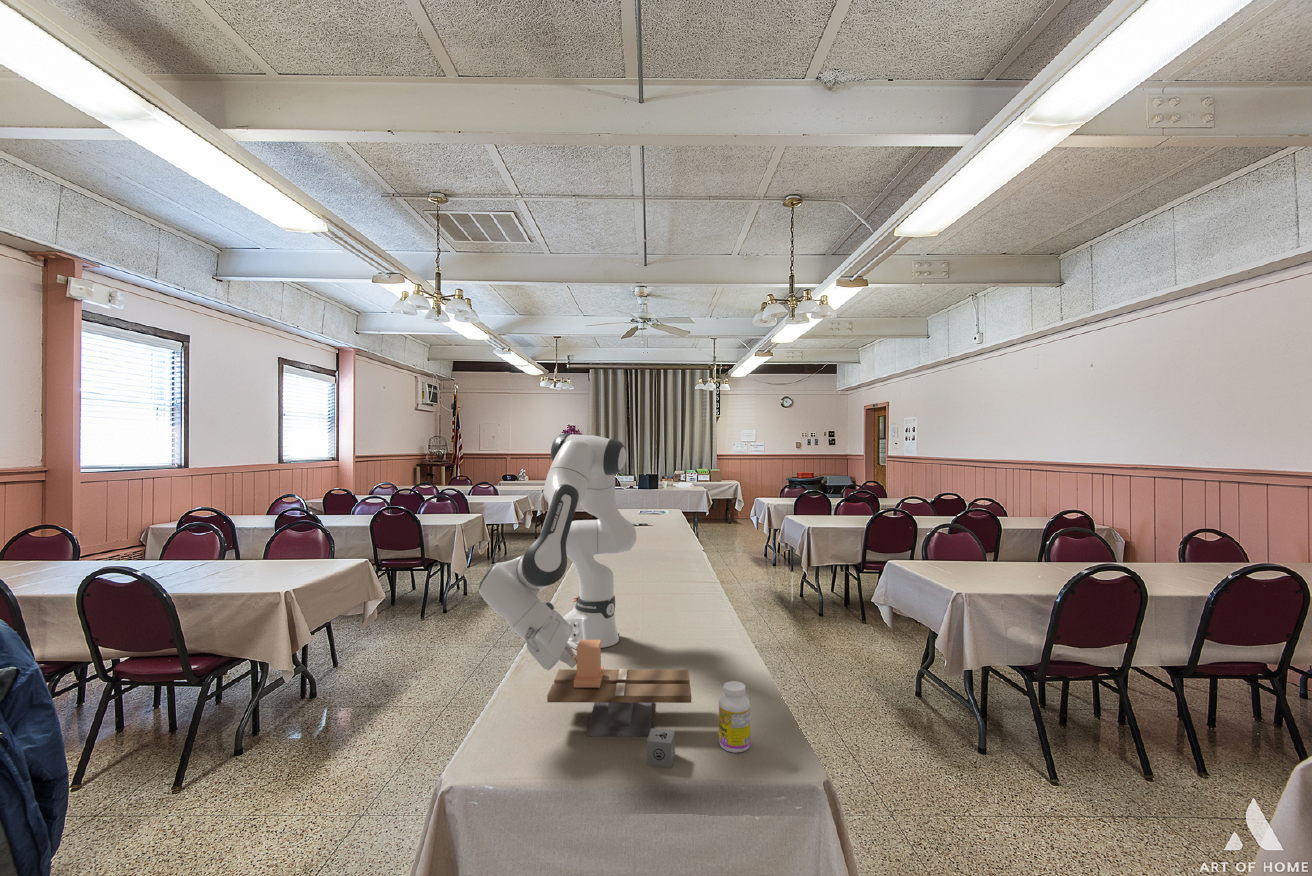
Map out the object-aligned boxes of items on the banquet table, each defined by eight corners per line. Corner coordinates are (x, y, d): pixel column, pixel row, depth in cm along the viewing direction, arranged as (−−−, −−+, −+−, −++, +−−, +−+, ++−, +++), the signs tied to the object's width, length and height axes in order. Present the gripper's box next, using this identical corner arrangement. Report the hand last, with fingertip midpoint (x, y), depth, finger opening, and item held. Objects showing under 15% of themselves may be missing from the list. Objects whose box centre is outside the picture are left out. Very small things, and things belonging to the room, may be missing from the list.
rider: (573, 693, 128) (573, 650, 128) (578, 678, 136) (578, 637, 136) (600, 693, 128) (599, 650, 128) (603, 678, 136) (603, 637, 136)
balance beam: (546, 736, 124) (546, 696, 124) (559, 701, 140) (559, 667, 140) (691, 736, 124) (691, 697, 124) (688, 702, 140) (688, 667, 140)
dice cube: (671, 768, 113) (671, 743, 113) (646, 766, 113) (646, 741, 113) (674, 754, 117) (674, 730, 117) (651, 752, 118) (651, 728, 118)
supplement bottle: (716, 737, 124) (716, 679, 124) (746, 736, 124) (745, 678, 124) (722, 755, 117) (722, 693, 117) (753, 753, 118) (753, 691, 117)
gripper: (533, 627, 122) (578, 673, 122) (551, 599, 143) (590, 638, 142) (512, 648, 122) (557, 693, 122) (534, 617, 143) (573, 656, 143)
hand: (575, 663), depth 132 cm, fingers closed, pressing on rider
